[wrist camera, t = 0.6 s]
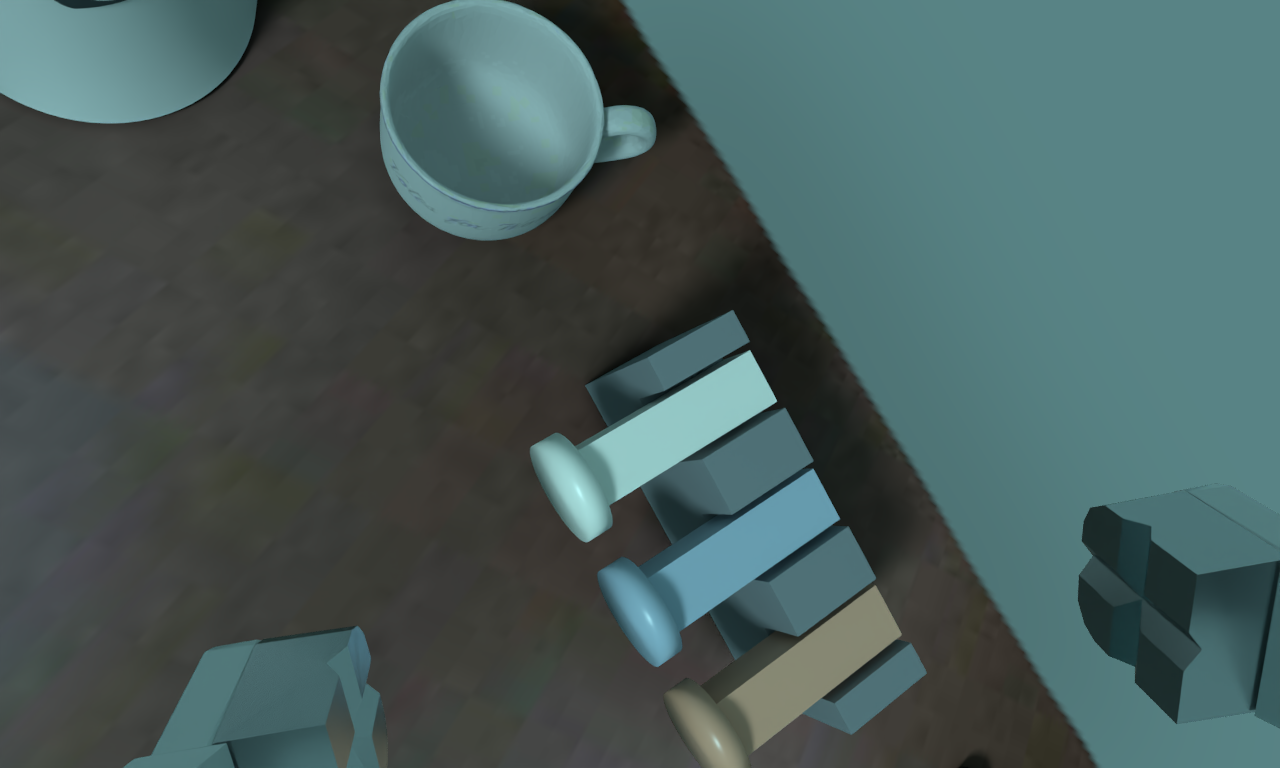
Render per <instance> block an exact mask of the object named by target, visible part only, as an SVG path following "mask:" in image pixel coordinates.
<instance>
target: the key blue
mask: <svg viewBox="0 0 1280 768" xmlns="http://www.w3.org/2000/svg"><path fill="white" fill-rule="evenodd" d="M839 519H840V518H839V516H838V514H837V512H836V510H835V508H834V506H833V504H832V503H831V501H830V499H829V497H828V495H827V493H826V491H825V490H824V488H823V486H822V484H821V482H820V480H819V478H818V476H817V475H816V473H815V471H814V469H801V470H799V471H798V472H796V473H795V474H793V475H792V476H790V477H789V478H787V479H786V480H784V481H783V482H781V483H780V484H778V485H777V486H775V487H773V488H772V489H770V490H769V491H767V492H766V493H764V494H763V495H761V496H760V497H758V498H757V499H755V500H754V501H752V502H751V503H749V504H748V505H746V506H745V507H743V508H742V509H740V510H739V511H737V512H736V513H734V514H733V515H727V514H718V515H717V516H715V517H714V518H712V519H711V520H709V521H708V522H706V523H705V524H703V525H701V526H700V527H698V528H697V529H695V530H694V531H692V532H691V533H689V534H688V535H686V536H685V537H683V538H682V539H680V540H679V541H677V542H676V543H674V544H672V545H671V546H669V547H668V548H666V549H665V550H663V551H662V552H660V553H659V554H657V555H656V556H654V557H653V558H651V559H650V560H648V561H647V562H645V563H644V564H642V565H640V566H639V567H637V566H636V565H635V564H634V563H633V562H632V561H630V560H629V559H627V558H625V557H620V558H619V559H617V560H616V561H614V562H613V563H611V564H610V565H608V566H606V567H605V568H603V569H602V570H600V571H599V572H598V574H597V578H598V583H599V586H600V589H601V592H602V594H603V597H604V599H605V601H606V603H607V605H608V607H609V609H610V611H611V613H612V614H613V616H614V618H615V619H616V621H617V623H618V624H619V626H620V628H621V629H622V631H623V632H624V634H625V635H626V636H627V638H628V639H629V641H630V642H631V643H632V645H633V646H634V647H635V648H636V650H637V651H638V652H639V653H640V654H641V655H642V656H643V657H644V658H645V659H646V660H647V661H648V662H649V663H650V664H652V665H653V666H656V667H659V666H660V665H661V664H663V663H664V662H666V661H667V660H668V659H670V658H671V657H673V656H674V655H676V654H677V653H678V652H680V651H681V650H682V640H681V636H680V633H679V631H681V630H682V629H684V628H685V627H687V626H688V625H689V624H691V623H692V622H694V621H695V620H697V619H698V618H699V617H701V616H702V615H704V614H705V613H707V612H708V611H709V610H711V609H712V608H714V607H715V606H717V605H718V604H719V603H721V602H722V601H724V600H725V599H727V598H728V597H729V596H731V595H732V594H734V593H735V592H737V591H738V590H739V589H741V588H742V587H744V586H745V585H747V584H748V583H749V582H751V581H752V580H754V579H755V578H757V577H758V576H759V575H761V574H762V573H764V572H765V571H767V570H768V569H769V568H771V567H772V566H774V565H775V564H777V563H778V562H779V561H781V560H782V559H784V558H785V557H787V556H788V555H789V554H791V553H792V552H794V551H795V550H797V549H798V548H799V547H801V546H802V545H804V544H805V543H807V542H808V541H809V540H811V539H812V538H814V537H815V536H817V535H818V534H819V533H821V532H822V531H824V530H825V529H827V528H828V527H829V526H831V525H832V524H834V523H835V522H837V521H838V520H839Z"/></svg>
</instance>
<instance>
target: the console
mask: <svg viewBox="0 0 1280 768" xmlns="http://www.w3.org/2000/svg"><path fill="white" fill-rule="evenodd" d="M748 342H750V341H749V339H748V337H747V335H746V333H745V331H744V330H743V328H742V326H741V324H740V322H739V320H738V318H737V316H736V315H735V313H734V311H733V310H732V311H730V312H727V313H725V314H723V315H721V316H719V317H717V318H715V319H712V320H710V321H708V322H706V323H704V324H702V325H700V326H697V327H695V328H693V329H691V330H689V331H687V332H685V333H682V334H680V335H678V336H676V337H674V338H672V339H670V340H667V341H665V342H663V343H661V344H659V345H657V346H655V347H653V348H651V349H650V350H648V351H646V352H644V353H642V354H641V355H639V356H637V357H635V358H633V359H632V360H630V361H628V362H626V363H624V364H623V365H621V366H619V367H617V368H615V369H613V370H612V371H610V372H608V373H606V374H604V375H603V376H601V377H599V378H597V379H595V380H594V381H592V382H590V383H588V384H586V385H585V386H586V388H587V390H588V392H589V393H590V395H591V397H592V399H593V401H594V403H595V404H596V406H597V408H598V410H599V412H600V414H601V415H602V417H603V419H604V421H605V423H606V425H607V426H608V427H609V426H611V425H613V424H614V423H616V422H618V421H619V420H621V419H623V418H625V417H626V416H628V415H630V414H632V413H633V412H635V411H637V410H638V409H640V408H642V407H644V406H645V405H647V404H649V403H650V402H652V401H654V400H656V399H657V398H659V397H661V396H663V395H664V394H666V393H668V392H669V391H671V390H673V389H675V388H676V387H678V386H680V385H681V384H683V383H685V382H687V381H688V380H690V379H692V378H694V377H695V376H697V375H699V374H700V373H702V372H704V371H706V370H707V369H709V368H711V367H712V366H714V365H716V364H718V363H719V362H721V361H723V359H722V357H724V356H726V355H727V354H729V353H731V352H733V351H734V350H736V349H738V348H739V347H741V346H743V345H745V344H746V343H748ZM811 462H813V459H812V457H811V455H810V453H809V451H808V449H807V448H806V446H805V444H804V442H803V440H802V438H801V436H800V434H799V433H798V431H797V429H796V427H795V425H794V423H793V421H792V419H791V418H790V416H789V414H788V412H787V410H786V408H782V409H777V410H773V411H768V412H763V413H758V414H756V415H755V416H753V417H751V418H750V419H748V420H747V421H745V422H743V423H742V424H740V425H738V426H737V427H735V428H734V429H732V430H730V431H729V432H727V433H726V434H724V435H722V436H721V437H719V438H717V439H716V440H714V441H713V442H711V443H709V444H708V445H706V446H704V447H703V448H701V449H700V450H698V451H696V452H695V453H693V454H692V455H690V456H688V457H687V458H685V459H683V460H682V461H680V462H679V463H677V464H675V465H674V466H672V467H670V468H669V469H667V470H666V471H664V472H662V473H661V474H659V475H658V476H656V477H654V478H653V479H651V480H649V481H648V482H646V483H645V484H643V485H641V486H640V487H641V489H642V490H643V492H644V494H645V496H646V498H647V500H648V501H649V503H650V505H651V507H652V509H653V511H654V512H655V514H656V516H657V518H658V520H659V521H660V523H661V525H662V527H663V529H664V531H665V532H666V534H667V536H668V538H669V540H670V542H671V543H672V544H674V543H676V542H677V541H679V540H680V539H682V538H683V537H685V536H686V535H688V534H689V533H691V532H692V531H694V530H695V529H697V528H698V527H700V526H701V525H703V524H705V523H706V522H708V521H709V520H711V519H712V518H714V517H715V516H717V515H718V514H727V515H733V514H734V513H736V512H737V511H739V510H740V509H742V508H743V507H745V506H746V505H748V504H749V503H751V502H752V501H754V500H755V499H757V498H758V497H760V496H761V495H763V494H764V493H766V492H767V491H769V490H770V489H772V488H773V487H775V486H777V485H778V484H780V483H781V482H783V481H784V480H786V479H787V478H789V477H790V476H792V475H793V474H795V473H796V472H798V471H799V470H801V469H802V468H804V467H805V466H807V465H808V464H810V463H811ZM875 579H876V577H875V575H874V573H873V571H872V569H871V567H870V566H869V564H868V562H867V560H866V558H865V556H864V554H863V552H862V551H861V549H860V547H859V545H858V543H857V541H856V539H855V537H854V536H853V534H852V532H851V530H850V528H849V526H829V527H828V528H827V529H825V530H824V531H822V532H821V533H819V534H818V535H817V536H815V537H814V538H812V539H811V540H809V541H808V542H807V543H805V544H804V545H802V546H801V547H799V548H798V549H797V550H795V551H794V552H792V553H791V554H789V555H788V556H787V557H785V558H784V559H782V560H781V561H779V562H778V563H777V564H775V565H774V566H772V567H771V568H769V569H768V570H767V571H765V572H764V573H762V574H761V575H759V576H758V577H757V578H755V579H754V580H752V581H751V582H749V583H748V584H747V585H745V586H744V587H742V588H741V589H739V590H738V591H737V592H735V593H734V594H732V595H731V596H729V597H728V598H727V599H725V600H724V601H722V602H721V603H719V604H718V605H717V606H715V607H714V608H712V609H711V610H709V613H710V615H711V617H712V618H713V620H714V622H715V624H716V626H717V628H718V629H719V631H720V633H721V635H722V637H723V639H724V640H725V642H726V644H727V646H728V648H729V650H730V651H731V653H732V655H733V657H734V659H735V660H737V659H738V658H739V657H741V656H742V655H743V654H745V653H746V652H747V651H749V650H750V649H752V648H753V647H754V646H756V645H757V644H758V643H760V642H761V641H762V640H764V639H765V638H767V637H768V636H769V635H771V634H772V633H773V632H775V631H780V632H783V633H787V634H790V635H794V636H798V637H799V636H800V635H801V634H803V633H804V632H805V631H807V630H808V629H809V628H811V627H812V626H814V625H815V624H816V623H818V622H819V621H820V620H822V619H823V618H824V617H826V616H827V615H828V614H830V613H831V612H832V611H834V610H835V609H836V608H838V607H839V606H840V605H842V604H843V603H844V602H846V601H847V600H848V599H850V598H851V597H852V596H854V595H855V594H856V593H858V592H859V591H860V590H862V589H863V588H865V587H866V586H867V585H869V584H870V583H871V582H873V581H874V580H875ZM926 673H927V672H926V670H925V668H924V667H923V665H922V663H921V661H920V659H919V657H918V655H917V654H916V652H915V650H914V648H913V646H912V644H911V643H909V642H905V641H901V640H895V641H893V642H892V643H891V644H890V645H888V646H887V647H886V648H884V649H883V650H882V651H881V652H879V653H878V654H877V655H876V656H874V657H873V658H872V659H870V660H869V661H868V662H867V663H865V664H864V665H863V666H862V667H860V668H859V669H858V670H856V671H855V672H854V673H853V674H851V675H850V676H849V677H848V678H846V679H845V680H844V681H842V682H841V683H840V684H839V685H837V686H836V687H835V688H834V689H832V690H831V691H830V692H828V693H827V694H826V695H825V696H823V697H822V698H821V699H820V700H818V701H817V702H816V703H814V704H813V705H812V706H811V707H809V708H808V709H807V710H806V711H804V712H803V714H805V715H807V716H810V717H812V718H814V719H816V720H819V721H821V722H823V723H826V724H828V725H830V726H833V727H835V728H837V729H839V730H842V731H844V732H846V733H849V734H851V735H852V734H853V733H854V732H856V731H857V730H858V729H859V728H860V727H862V726H863V725H864V724H865V723H867V722H868V721H869V720H870V719H871V718H873V717H874V716H875V715H876V714H878V713H879V712H880V711H881V710H882V709H884V708H885V707H886V706H887V705H889V704H890V703H891V702H892V701H893V700H895V699H896V698H897V697H898V696H900V695H901V694H902V693H903V692H904V691H906V690H907V689H908V688H909V687H911V686H912V685H913V684H914V683H915V682H917V681H918V680H919V679H920V678H922V677H923V676H924V675H925V674H926Z"/></svg>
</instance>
